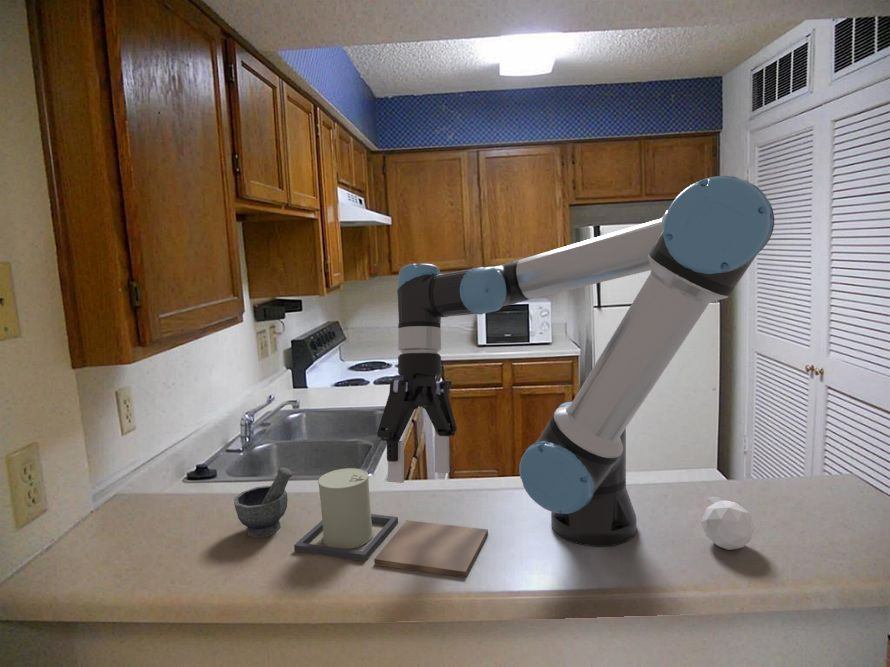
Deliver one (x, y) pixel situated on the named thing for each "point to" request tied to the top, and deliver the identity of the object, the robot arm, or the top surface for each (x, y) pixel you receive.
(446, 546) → the walnut board
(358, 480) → the can
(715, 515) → the ball
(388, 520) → the grey picture frame
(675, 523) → the top surface
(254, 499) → the mortar and pestle
